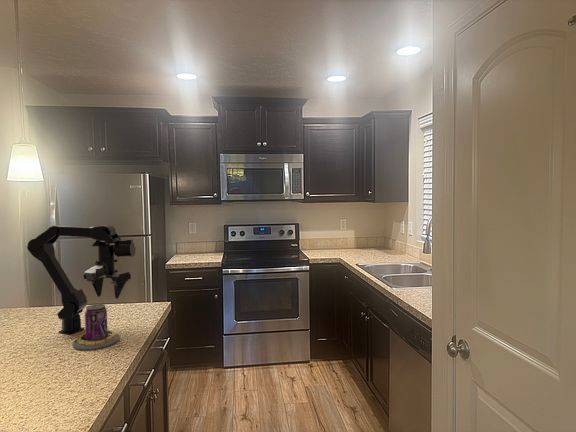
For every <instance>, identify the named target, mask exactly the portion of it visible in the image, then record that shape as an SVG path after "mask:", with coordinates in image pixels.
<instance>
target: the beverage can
mask: <svg viewBox="0 0 576 432" xmlns="http://www.w3.org/2000/svg"><path fill="white" fill-rule="evenodd" d="M107 330H108V310H107V308H106V304H104V303H103V304H102V303H98V304H97V303H96V304H91V305H88V306H87V305H86V306H85V312H84V333H85V338H86V340H87V341H94V340H100V339H104V338H106V337H107V336H108V332H107Z"/></svg>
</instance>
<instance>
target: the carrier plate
mask: <svg viewBox="0 0 576 432" xmlns="http://www.w3.org/2000/svg"><path fill="white" fill-rule="evenodd" d="M107 332H108V336H107V337H106V338H104V339H100V340H94V341H87V340H86V338H85V332H84V333H82V334H80V335H79V336H77V338H76V339H75V340H74V341H73V342H72V348H73V349H74V350H76V351H82V352H83V351H84V352H85V351H86V352H87V351H88V352H89V351H96V350H102V349H106V348H109V347H112V346H113V345H116V344H117V343H119V342H120V334H118V333H117V332H115V331H114V330H112V329H107Z"/></svg>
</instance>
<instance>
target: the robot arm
mask: <svg viewBox="0 0 576 432" xmlns="http://www.w3.org/2000/svg"><path fill="white" fill-rule="evenodd" d="M60 237H79V238H90V239H91V240H94V241H95V242H93V243H92V244H91V247H97V258H98V260H96V261H95V265H94V266H92V267H90V268H88V269H87V270H85V271H84V273H83V279H84V280H86V282H89V283H90V284H91V285H92V287H93V290H94V291H95V293H96V295H97V297H98V298H99V297H101V295H102V291H103V285H104V284H103V283H104V278H105V279H111V280H112V281H111V284H112V285H113V287H114V298H115V299H119V297H120V295H121V294H122V291H123V290H124V287H125V285H126V283H127V282H129V280H131V278H132V276H131V273H130V272H129V271H118V269H116V263H117V262H118V259H117V258H134V257H135V255H136V246H135V243H134V240H133V239H131V238H130V239H122V238H121V237H120V235H119V234H118V233H117V230H116V228H115V227H114V226H113V225H112V224H103V225H96V226H76V225H75V226H74V225H73V226H72V225H62V224H57V225H56V224H55V225H51V226H49V228H48V229H46V230H45V231H43V232H42V233H41V234H39V235H38V236H36V237H35V238H32V239H30V240H29V241H28V242H27V246H26V249H27V251H28V252H29V253H30V255H31V256H32V257H33V258H34V259H36V260H38V261H39V262H40V263H41V264H42V265H43V267H44V268H45V270H46V272H47V274H48V275H49V276H50V279H51V280H52V282H53V283H54V285H55V287H56V288H57V290H58V292H59V293H60V297H61V299H60V300H61V304H62V306H63V307H62V308H61V309H60V310H59V312H57V317H58V319H59V320H61V330H58V333H59V334H65V335H72V334H76V333H79V332H81V331H85V327H82V321H81V313H83V310H84V308H85V309H86V307H87V304H88V296H87V295H86V294H85V293H84V291H83V288H80V289H79V290H78V289H77V288H76V287H74V285H73V284H72V282H71V281H70V279H69V277H68V276H67V274H66V272H65V271H64V269H63V268H62V265H61V264H60V262H59V261H58V259H57V256H56V254H55V245H54V244H55V243H56V242H57V241H58V239H59V238H60ZM115 256H116V257H117V258H115Z"/></svg>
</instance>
